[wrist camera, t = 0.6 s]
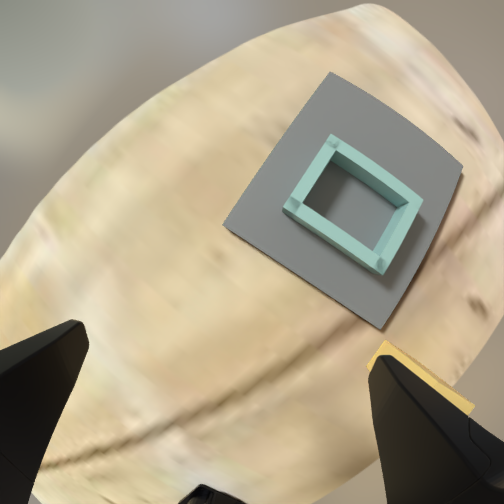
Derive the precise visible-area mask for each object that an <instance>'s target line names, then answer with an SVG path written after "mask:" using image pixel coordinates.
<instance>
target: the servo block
mask: <svg viewBox="0 0 504 504" xmlns="http://www.w3.org/2000/svg"><path fill="white" fill-rule="evenodd" d="M379 355H392V356H393V357H395V358H396V359H397V360H398V361H400V362H401V363H402V364H403V365H405V366H406V367H407V368H408V369H410V370H411V371H412V372H414V373H415V374H416V375H417V376H419V377H420V378H421V379H422V380H424V381H425V382H426V383H427V384H429V385H430V386H431V387H432V388H434V389H435V390H436V391H438V392H439V393H440V394H441V395H443V396H444V397H445V398H446V399H448V400H449V401H450V402H451V403H453V404H454V405H455V406H456V407H458V408H459V409H460V410H461V411H463V412H464V413H465V414H466V415H469V413H470V412H471V411H472V409H473V408H474V406H475V405H474V404H472V403H471V402H470V401H469V400H467V399H466V398H465V397H464V396H462V395H461V394H460V393H459V392H457V391H456V390H455V389H453V388H452V387H451V386H450V385H448V384H447V383H446V382H444V381H443V380H442V379H441V378H439V377H438V376H437V375H435V374H434V373H433V372H432V371H430V370H429V369H428V368H426V367H425V366H424V365H422V364H421V363H420V362H418V361H417V360H415V359H414V358H412V357H411V356H409V355H408V354H406V353H405V352H403V351H402V350H400V349H399V348H397V347H396V346H394V345H393V344H391V343H390V342H388V341H387V340H385V341H384V342H383V344H382V345H381V346H380V348H379V349H378V351H377V352H376V353H375V355H374V356H373V358H372V359H371V360H370V362H369V363H368V364H367V366H366V367H367V369H368V370H369V371H371V369H372V367H373V365H374V363H375V360H376V358H377V357H378V356H379Z"/></svg>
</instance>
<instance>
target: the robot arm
mask: <svg viewBox="0 0 504 504" xmlns="http://www.w3.org/2000/svg"><path fill="white" fill-rule="evenodd" d="M88 349H89V340H88V337H87V333H86V330H85V326H84V324H83V322H81V321H77V320H73V319H71V320H69V321H66V322H64V323H62V324H59V325H57V326H55V327H52V328H50V329H48V330H46V331H43V332H41V333H39V334H36V335H34V336H32V337H30V338H27V339H25V340H23V341H20V342H18V343H16V344H14V345H11V346H9V347H7V348H5V349H2V350H0V504H28V501H29V498H30V494H31V491H32V488H33V485H34V482H35V479H36V476H37V473H38V470H39V468H40V465H41V462H42V459H43V457H44V454H45V452H46V449H47V447H48V444H49V442H50V439H51V437H52V434H53V432H54V430H55V427H56V425H57V423H58V420H59V418H60V416H61V414H62V411H63V409H64V407H65V405H66V403H67V401H68V398H69V396H70V394H71V392H72V390H73V388H74V386H75V383H76V381H77V378H78V375H79V372H80V370H81V367H82V364H83V362H84V359H85V357H86V354H87V352H88ZM368 383H369V391H370V400H371V409H372V418H373V425H374V430H375V435H376V440H377V445H378V450H379V456H380V461H381V467H382V472H383V478H384V484H385V491H386V498H387V504H504V442H503V441H501V440H500V439H499V438H497V437H496V436H494V435H493V434H491V433H490V432H488V431H487V430H485V429H484V428H483V427H482V426H480V425H479V424H478V423H477V422H475V421H474V420H473V419H471V418H470V417H469V418H468V415H466V414H465V413H464V412H463V411H461V410H460V409H459V408H458V407H456V406H455V405H454V404H453V403H451V402H450V401H449V400H448V399H446V398H445V397H444V396H443V395H441V394H440V393H439V392H438V391H436V390H435V389H434V388H432V387H431V386H430V385H429V384H427V383H426V382H425V381H424V380H422V379H421V378H420V377H419V376H417V375H416V374H415V373H414V372H412V371H411V370H410V369H408V368H407V367H406V366H405V365H403V364H402V363H401V362H400V361H398V360H397V359H396V358H395V357H393V356H392V355H379V356H378V357H377V358H376V360H375V363H374V365H373V367H372V369H371V371H370V374H369V378H368ZM178 504H244V503H242V502H240V501H237V500H235V499H233V498H230V497H228V496H226V495H224V494H221V493H219V492H217V491H215V490H213V489H211V488H209V487H207V486H205V485H202V484H200V485H198V486H197V487H196V488H195V489H194V490H192V491H191V492H190V493H189V494H188V495H187V496H185V497H184V498H183V499H182V500H181V501H179V503H178Z"/></svg>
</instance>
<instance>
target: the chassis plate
mask: <svg viewBox="0 0 504 504" xmlns="http://www.w3.org/2000/svg"><path fill="white" fill-rule="evenodd" d="M462 168H463V165H462V164H461V163H459V162H458V161H457V160H456V159H455V158H454V157H453V156H452V155H451V154H449V153H448V152H447V151H446V150H445V149H444V148H443V147H441V146H440V145H439V144H438V143H437V142H435V141H434V140H433V139H432V138H431V137H429V136H428V135H427V134H426V133H424V132H423V131H422V130H420V129H419V128H418V127H416V126H415V125H414V124H413V123H411V122H410V121H408V120H407V119H406V118H404V117H403V116H402V115H400V114H399V113H397V112H396V111H394V110H393V109H392V108H390V107H389V106H387V105H386V104H384V103H383V102H381V101H380V100H378V99H376V98H375V97H373V96H372V95H370V94H368V93H367V92H365V91H364V90H362V89H360V88H359V87H357V86H355V85H353V84H352V83H350V82H348V81H346V80H345V79H343V78H341V77H339V76H337V75H336V74H334V73H332V72H329V74H328V75H327V76H326V78H325V79H324V80H323V81H322V83H321V84H320V85H319V87H318V88H317V89H316V91H315V92H314V94H313V95H312V96H311V98H310V99H309V100H308V102H307V103H306V104H305V106H304V107H303V108H302V110H301V111H300V113H299V114H298V115H297V117H296V118H295V119H294V121H293V122H292V124H291V125H290V126H289V128H288V129H287V131H286V132H285V133H284V135H283V136H282V138H281V139H280V140H279V142H278V143H277V145H276V146H275V148H274V149H273V150H272V152H271V153H270V155H269V156H268V158H267V159H266V160H265V162H264V163H263V165H262V166H261V168H260V169H259V171H258V172H257V174H256V175H255V176H254V178H253V179H252V181H251V182H250V184H249V185H248V187H247V188H246V190H245V191H244V193H243V194H242V196H241V197H240V199H239V200H238V202H237V203H236V205H235V206H234V208H233V209H232V211H231V212H230V214H229V215H228V217H227V218H226V220H225V221H224V223H223V224H222V225H223V226H224V227H226V228H227V229H229V230H230V231H232V232H234V233H235V234H237V235H238V236H240V237H241V238H243V239H244V240H246V241H247V242H249V243H250V244H252V245H253V246H255V247H256V248H258V249H259V250H261V251H262V252H264V253H265V254H267V255H269V256H270V257H272V258H273V259H275V260H276V261H278V262H279V263H281V264H282V265H284V266H285V267H287V268H288V269H290V270H291V271H293V272H294V273H296V274H297V275H299V276H300V277H302V278H303V279H305V280H306V281H308V282H309V283H311V284H312V285H314V286H315V287H317V288H318V289H320V290H321V291H323V292H324V293H326V294H327V295H329V296H330V297H332V298H333V299H335V300H336V301H338V302H339V303H341V304H342V305H344V306H345V307H347V308H348V309H350V310H351V311H353V312H354V313H356V314H357V315H359V316H360V317H362V318H363V319H365V320H366V321H368V322H369V323H371V324H372V325H374V326H375V327H377V328H378V329H380V330H381V328H382V327H383V325H384V324H385V322H386V321H387V319H388V318H389V316H390V315H391V313H392V311H393V310H394V308H395V307H396V305H397V303H398V302H399V300H400V298H401V297H402V295H403V293H404V292H405V290H406V288H407V287H408V285H409V283H410V281H411V280H412V278H413V276H414V274H415V272H416V271H417V269H418V267H419V265H420V263H421V261H422V259H423V258H424V256H425V254H426V252H427V250H428V248H429V246H430V244H431V242H432V240H433V238H434V236H435V233H436V231H437V229H438V227H439V225H440V223H441V221H442V218H443V216H444V214H445V211H446V209H447V207H448V204H449V202H450V200H451V197H452V195H453V192H454V190H455V187H456V185H457V182H458V179H459V177H460V174H461V171H462Z"/></svg>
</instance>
